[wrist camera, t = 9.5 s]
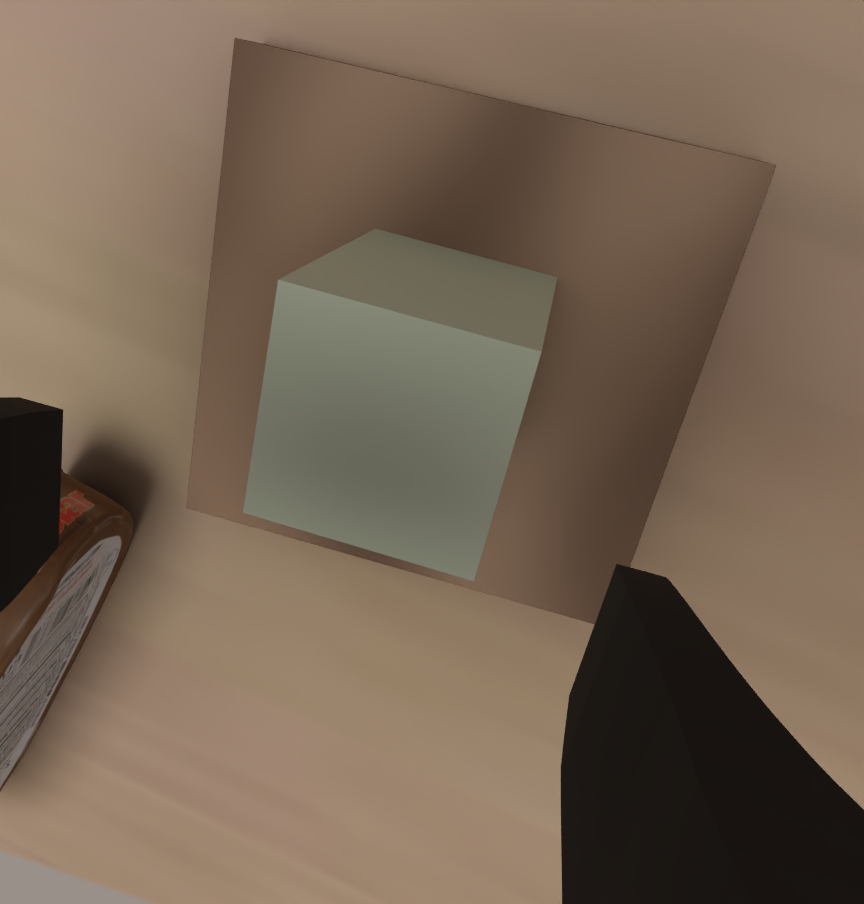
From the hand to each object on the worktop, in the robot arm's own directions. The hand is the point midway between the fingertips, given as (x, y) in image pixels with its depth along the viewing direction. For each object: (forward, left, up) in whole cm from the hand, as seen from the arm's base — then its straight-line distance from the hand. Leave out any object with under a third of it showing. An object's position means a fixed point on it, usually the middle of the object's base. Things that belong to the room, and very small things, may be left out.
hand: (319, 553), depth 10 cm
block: (0, 0, -9) cm, 9 cm away
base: (0, 0, -10) cm, 10 cm away
